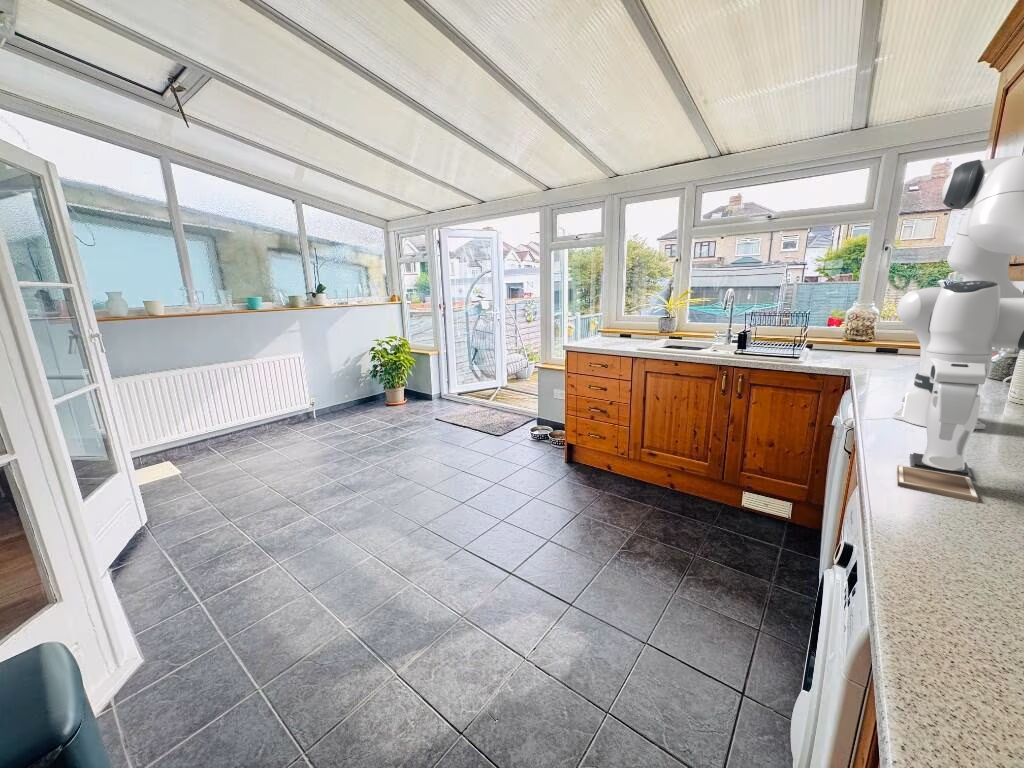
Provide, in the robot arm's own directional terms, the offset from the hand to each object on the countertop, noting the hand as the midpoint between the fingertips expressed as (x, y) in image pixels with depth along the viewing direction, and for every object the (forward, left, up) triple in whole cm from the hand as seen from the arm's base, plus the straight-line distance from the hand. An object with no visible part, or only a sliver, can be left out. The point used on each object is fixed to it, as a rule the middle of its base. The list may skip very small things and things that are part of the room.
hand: (942, 434), depth 83 cm
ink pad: (-9, +1, -10) cm, 14 cm away
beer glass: (0, +1, -7) cm, 7 cm away
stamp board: (+1, 0, -10) cm, 10 cm away
